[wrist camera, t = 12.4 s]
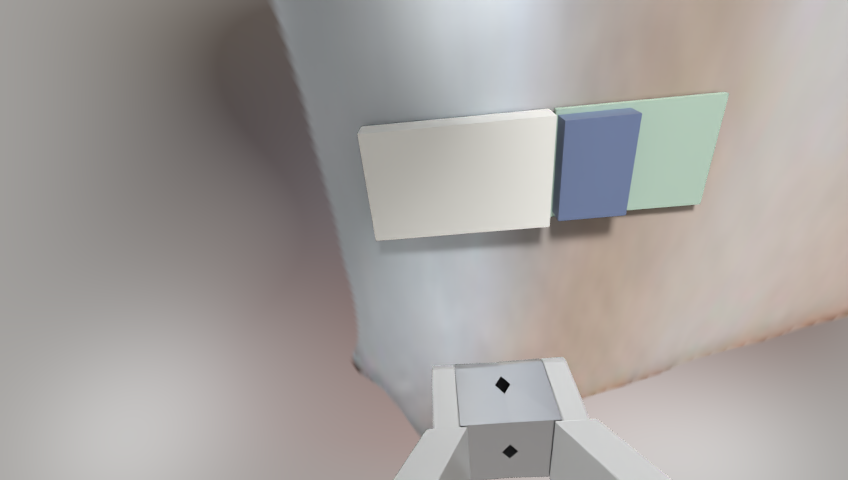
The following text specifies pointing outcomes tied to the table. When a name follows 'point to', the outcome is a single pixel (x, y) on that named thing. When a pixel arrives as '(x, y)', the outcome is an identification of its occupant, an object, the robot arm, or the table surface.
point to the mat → (668, 147)
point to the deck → (459, 174)
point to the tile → (594, 163)
